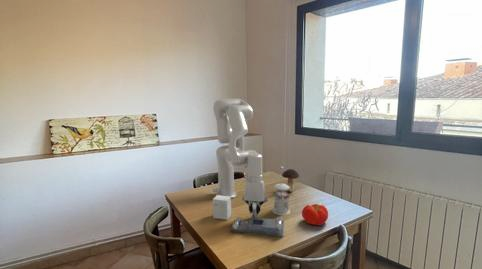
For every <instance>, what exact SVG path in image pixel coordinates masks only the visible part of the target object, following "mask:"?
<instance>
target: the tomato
mask: <svg viewBox="0 0 482 269" xmlns="http://www.w3.org/2000/svg"><path fill="white" fill-rule="evenodd" d="M301 216H302V219H303V220H304V221H305V222H306V223H307V224H309V225H313V226H314V225H316V226H321V225H323V224H325V223H326V222H327V220H328V219H329V212H328V209H327V208H326V206H325V205H324V204H317V203H314V204H311V205H309V204H306V205H305V206H304V207H303V208H302V211H301Z"/></svg>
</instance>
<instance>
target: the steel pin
mask: <svg viewBox="0 0 482 269" xmlns="http://www.w3.org/2000/svg"><path fill="white" fill-rule="evenodd" d="M251 203H252V213H251V217H252V218H259V217H258V215H259V214H257V206H258V202H257V201H252V202H251Z"/></svg>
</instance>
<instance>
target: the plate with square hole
mask: <svg viewBox="0 0 482 269" xmlns="http://www.w3.org/2000/svg"><path fill="white" fill-rule="evenodd" d="M284 231H285V220H284V219H283V217H282V216H278V217H277V219H274V218H273V219H272V218H264V217H263V218H261V217H258V218H252V216H251V217H250V220H242V217H240V216H238V217H236V219H234V221H233V223H232V224H231V227H230V232H231V233H238V234H248V235H249V234H250V235H257V236H258V235H259V236H270V237H280V238H283V237H284V233H285V232H284Z"/></svg>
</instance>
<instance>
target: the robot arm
mask: <svg viewBox="0 0 482 269" xmlns="http://www.w3.org/2000/svg"><path fill="white" fill-rule="evenodd" d="M253 111H254V110H253V108H252V106H251V105H250V104H249V103H248V102H246V101H245V100H243V99H242V98H221V99H217V100H215V101H214V103H213V114H214V118H215V120H216V133H217V139H218V140H217V141H218V142H219V144H228V145H222V146H219V147H217V149H216V150H215V156H216V159H217V160H216V161H217V173H218V174H217V177H218V178H217V179H218V187H217V188H216V187H212V192H213V193H216V195H215V197H216V196H217V195H220V196H228V197H231V199H234V198H236V196H238V195H237V192H236V191H235V178H234V177H235V176H234V175H235V172H234V167H242V166H243V167H244V166H247V167H246V175H245V174H244V176H243V177H244V179H246V180H245V183H244V191H243V192H244V193H243V194H244V195H243V196H242V198H241V200H242V201H244V202H245V203H246V204H247V206H248V211H249V214H252V201H257V202H258V206H257V214H258V215H259V214H260V213H261V207H262V205H263V204H265V203H267V202H268V197H267V196H266V190H265V182H264V180H263V155H262V154H261V153H259V152H257V151H256V150H254V149H249V150H248V149H247V150H246V149H245V137H244V136H245V135H247V134H248V132H249V129H248V125H247V122H246V121H249V120H251V119H253V116H254V112H253Z"/></svg>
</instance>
